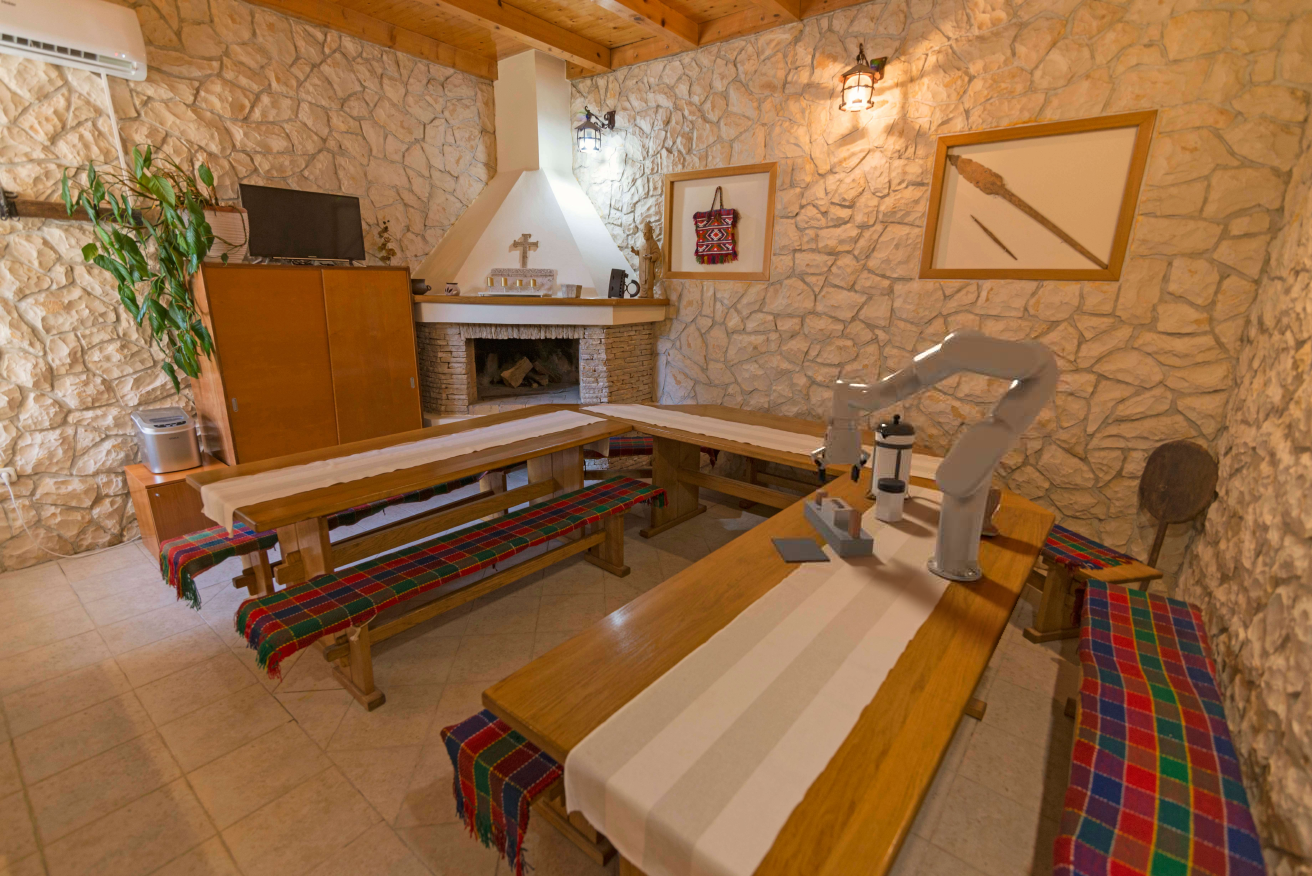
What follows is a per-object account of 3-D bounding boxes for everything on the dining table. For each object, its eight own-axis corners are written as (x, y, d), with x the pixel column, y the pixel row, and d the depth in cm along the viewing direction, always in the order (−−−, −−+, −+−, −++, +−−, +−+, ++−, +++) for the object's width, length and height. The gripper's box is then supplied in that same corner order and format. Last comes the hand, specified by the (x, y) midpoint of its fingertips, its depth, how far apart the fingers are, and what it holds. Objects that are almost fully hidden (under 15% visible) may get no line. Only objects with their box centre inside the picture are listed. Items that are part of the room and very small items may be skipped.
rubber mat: (829, 560, 150) (829, 559, 150) (785, 562, 149) (785, 560, 149) (811, 539, 163) (811, 537, 163) (771, 540, 162) (771, 538, 162)
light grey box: (852, 524, 161) (853, 508, 160) (833, 525, 161) (834, 509, 159) (838, 511, 171) (840, 496, 169) (821, 512, 170) (822, 497, 169)
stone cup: (997, 528, 172) (1005, 481, 168) (997, 542, 162) (1005, 492, 158) (942, 518, 179) (948, 473, 176) (939, 531, 170) (945, 483, 166)
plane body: (872, 556, 153) (876, 514, 150) (839, 557, 152) (843, 515, 149) (830, 514, 182) (833, 479, 179) (803, 515, 181) (806, 479, 178)
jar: (907, 518, 179) (912, 482, 176) (894, 524, 174) (898, 487, 171) (881, 510, 186) (885, 475, 183) (867, 516, 181) (871, 480, 178)
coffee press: (919, 507, 189) (930, 419, 181) (869, 504, 191) (878, 417, 184) (905, 490, 205) (915, 409, 198) (860, 488, 208) (867, 407, 200)
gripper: (818, 426, 154) (813, 485, 159) (880, 426, 156) (872, 485, 160) (809, 420, 162) (804, 476, 166) (868, 420, 163) (861, 476, 167)
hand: (837, 481), depth 163 cm, fingers open, 9 cm apart
